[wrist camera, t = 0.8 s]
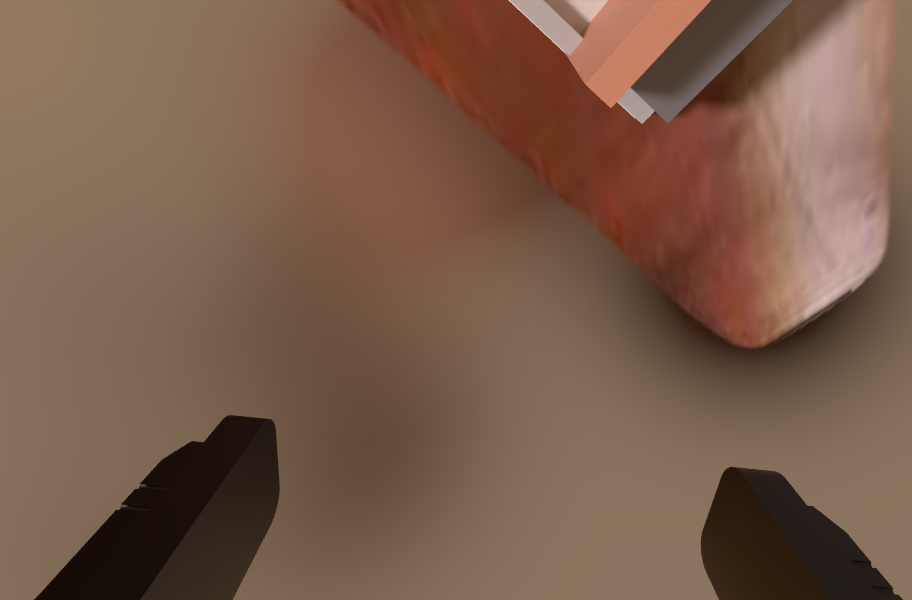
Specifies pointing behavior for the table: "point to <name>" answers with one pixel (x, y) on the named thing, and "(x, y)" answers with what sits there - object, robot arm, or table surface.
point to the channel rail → (650, 45)
